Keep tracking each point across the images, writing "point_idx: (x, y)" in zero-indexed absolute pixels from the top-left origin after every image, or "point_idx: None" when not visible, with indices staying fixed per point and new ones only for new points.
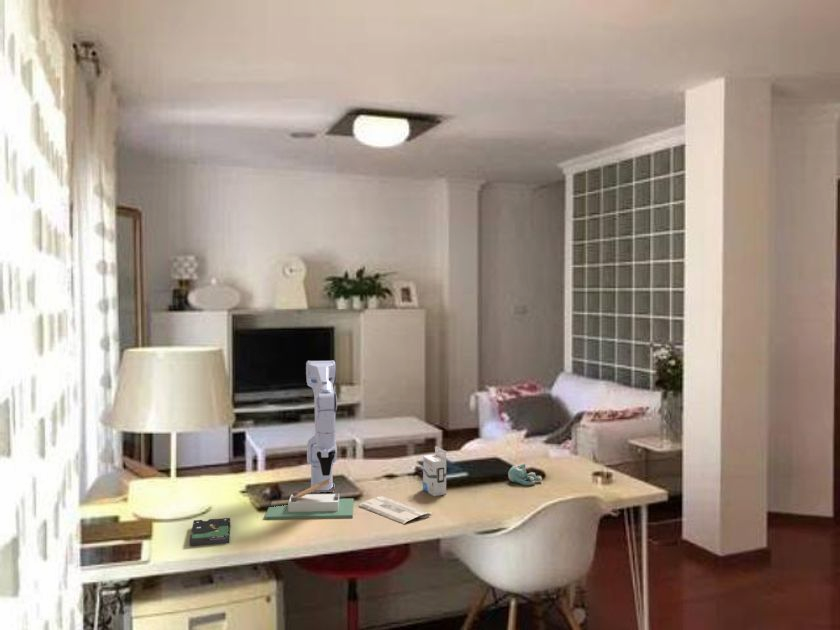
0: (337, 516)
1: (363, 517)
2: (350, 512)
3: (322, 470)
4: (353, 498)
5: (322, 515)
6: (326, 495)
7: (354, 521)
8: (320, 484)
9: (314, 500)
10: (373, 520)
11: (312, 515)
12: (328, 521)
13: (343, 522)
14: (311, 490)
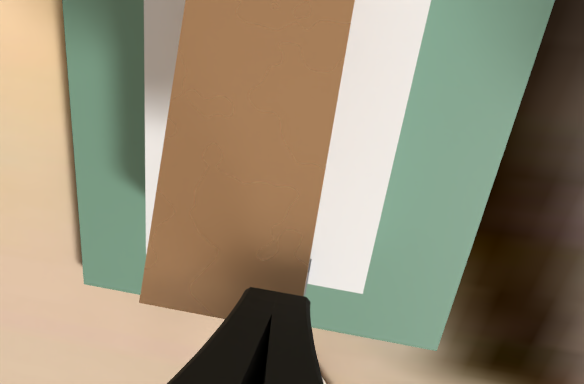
0: (81, 194)
1: (99, 325)
2: (135, 281)
3: (218, 337)
4: (435, 349)
5: (73, 96)
6: (340, 191)
7: (29, 271)
8: (220, 196)
9: None
10: (50, 358)
11: (70, 16)
12: (19, 123)
13: (7, 211)
14: (177, 65)
